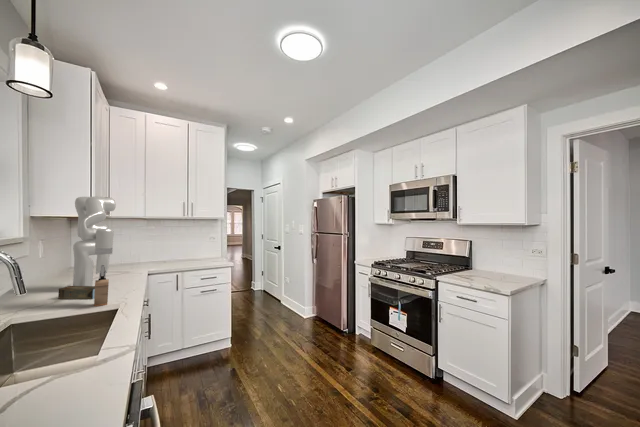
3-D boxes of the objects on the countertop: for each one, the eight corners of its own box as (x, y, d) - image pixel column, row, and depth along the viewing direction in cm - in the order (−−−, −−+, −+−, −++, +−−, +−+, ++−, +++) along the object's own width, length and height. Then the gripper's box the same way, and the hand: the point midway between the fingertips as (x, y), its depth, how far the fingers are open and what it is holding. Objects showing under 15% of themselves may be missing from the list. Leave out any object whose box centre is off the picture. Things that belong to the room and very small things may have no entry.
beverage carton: (92, 299, 157) (93, 288, 158) (56, 299, 156) (57, 287, 157) (102, 296, 165) (103, 285, 166) (68, 296, 164) (69, 284, 165)
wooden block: (94, 299, 149) (95, 280, 146) (107, 298, 152) (108, 279, 149) (94, 306, 145) (94, 286, 141) (107, 304, 148) (108, 284, 145)
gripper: (95, 250, 154) (93, 284, 153) (94, 253, 142) (92, 289, 141) (112, 250, 158) (110, 283, 158) (112, 252, 147) (110, 288, 146)
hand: (101, 286), depth 149 cm, fingers closed
